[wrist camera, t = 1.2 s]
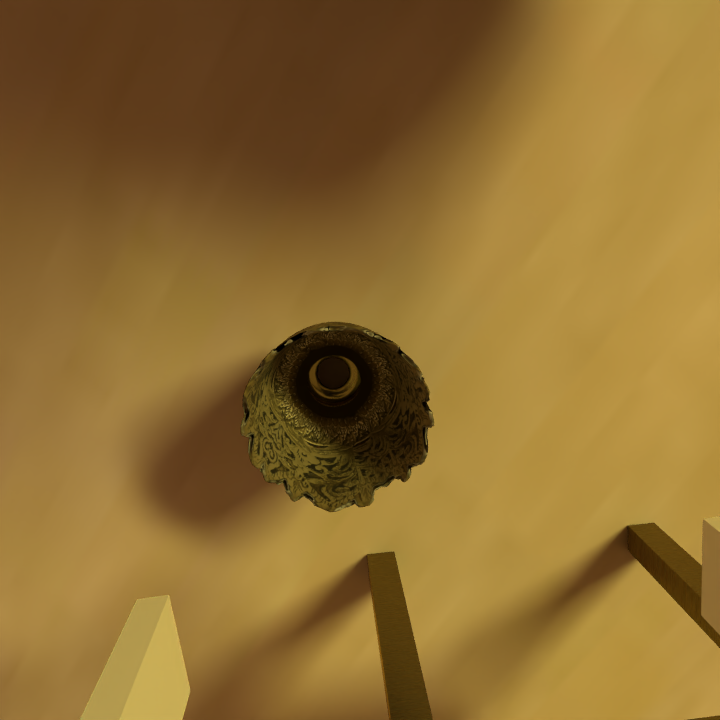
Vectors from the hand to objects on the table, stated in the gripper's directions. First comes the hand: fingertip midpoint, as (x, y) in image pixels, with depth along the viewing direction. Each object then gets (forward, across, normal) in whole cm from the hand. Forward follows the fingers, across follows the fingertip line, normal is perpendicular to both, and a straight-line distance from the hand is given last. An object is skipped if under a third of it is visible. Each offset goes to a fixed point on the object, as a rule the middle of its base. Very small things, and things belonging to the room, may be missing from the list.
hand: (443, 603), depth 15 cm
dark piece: (+17, -2, +2) cm, 18 cm away
